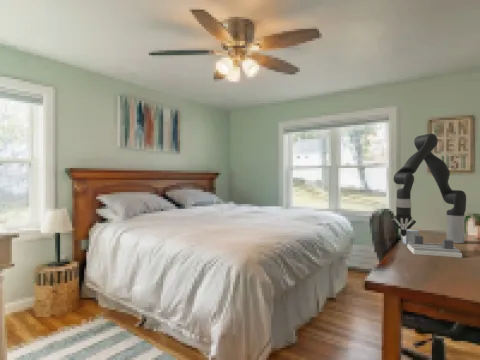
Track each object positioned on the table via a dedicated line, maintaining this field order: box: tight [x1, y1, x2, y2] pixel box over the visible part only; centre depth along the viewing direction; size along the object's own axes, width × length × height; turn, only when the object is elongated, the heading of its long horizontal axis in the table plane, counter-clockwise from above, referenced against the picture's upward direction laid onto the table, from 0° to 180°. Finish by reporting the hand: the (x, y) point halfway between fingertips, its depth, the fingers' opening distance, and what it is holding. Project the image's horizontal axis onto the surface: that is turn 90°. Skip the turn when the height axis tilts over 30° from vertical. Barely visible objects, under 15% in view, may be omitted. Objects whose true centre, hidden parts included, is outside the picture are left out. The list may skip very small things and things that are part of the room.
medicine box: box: [402, 229, 420, 245], centre depth 181 cm, size 8×4×9 cm, turn 84°
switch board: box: [406, 242, 463, 258], centre depth 160 cm, size 16×22×4 cm
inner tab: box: [414, 234, 424, 244], centre depth 166 cm, size 3×4×6 cm
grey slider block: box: [442, 238, 454, 249], centre depth 155 cm, size 3×4×6 cm
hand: (403, 235), depth 169 cm, fingers closed
